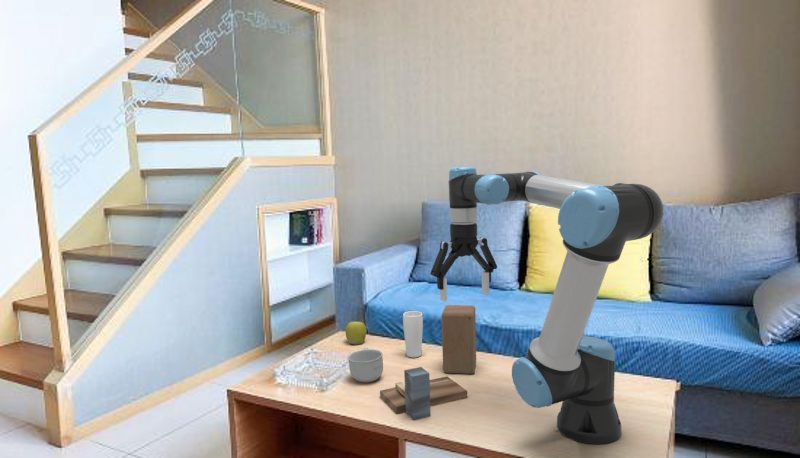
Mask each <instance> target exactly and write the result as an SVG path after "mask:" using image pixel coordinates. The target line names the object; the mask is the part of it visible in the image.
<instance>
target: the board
mask: <svg viewBox="0 0 800 458" xmlns="http://www.w3.org/2000/svg"><path fill="white" fill-rule="evenodd" d="M379 395H380V396H379V397H380V399H381V400H382V401H384V403H386V404H387V406H388V407H389V408H390V409H391V410H392V411H393V412H394V413H395V414H397V415H399V414H402V413H406V405H405V396H403V395H402V394H401V393H400V392H399V391H398V390H397V389H396V386H395V387H389V388H386V389H381V390H379ZM467 398H468V390H467V389H465V388H464V387H463V386H462V385H460V384H458V383H457V382H456V381H454V380H453V379H452V378H450V377H449V376H448V375H447V376H442V377H439V378H438V377H437V378H432V379H430V407H433V406H437V405H441V404H445V403H450V402H454V401H459V400H463V399H467Z"/></svg>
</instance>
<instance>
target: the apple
mask: <svg viewBox="0 0 800 458" xmlns="http://www.w3.org/2000/svg"><path fill="white" fill-rule="evenodd" d="M352 320H353V321H349V323H347V325H346V327H345V337H346V340H347V342H348V343H349V344H350V345H359V344H363V343H364V342H365V340H366V338H367V337H366V336H367V327H366V325H365V323H364V322H363V321H362V322H361V321H356V320H355V319H354V318H353V317H352Z"/></svg>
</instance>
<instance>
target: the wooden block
mask: <svg viewBox="0 0 800 458" xmlns="http://www.w3.org/2000/svg"><path fill="white" fill-rule="evenodd" d="M476 323H477V321H476V307H475V306H474V305H467V304H466V305H462V304H461V305H460V304H459V305H458V304H457V305H456V304H447V305H445V307H444V308H443V311H442V313H441V340H442V341H441V345H442V346H441V347H442V371H443V372H444V373H446V374H462V375H463V374H466V375H472V374H474V373H475V369H476V365H477V332H476V331H477V329H476V328H477V325H476Z"/></svg>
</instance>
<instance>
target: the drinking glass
mask: <svg viewBox="0 0 800 458" xmlns="http://www.w3.org/2000/svg"><path fill="white" fill-rule="evenodd" d="M423 323H424V319H423V312H421V311H418V310H410V311H405V312H404V313H403V314H402V326H403V327H402V328H403V334H404V335H403V336H404V341H405V342H404V343H405V351H406V352H405V354H406V356H407V357H408V358H410V359H411V358H413V359H415V358H419V357H421V356H422V355H423V354H422V353H423V352H422V348H423V347H422V346H423V330H424V329H423Z"/></svg>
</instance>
